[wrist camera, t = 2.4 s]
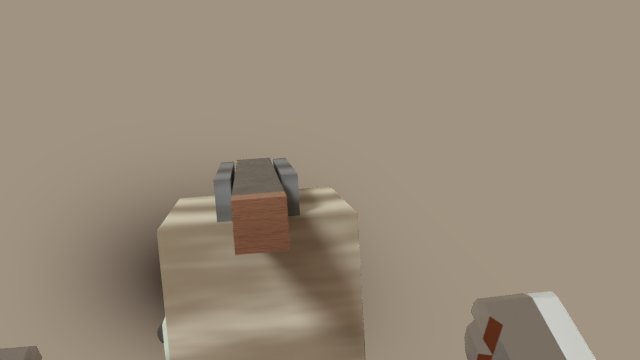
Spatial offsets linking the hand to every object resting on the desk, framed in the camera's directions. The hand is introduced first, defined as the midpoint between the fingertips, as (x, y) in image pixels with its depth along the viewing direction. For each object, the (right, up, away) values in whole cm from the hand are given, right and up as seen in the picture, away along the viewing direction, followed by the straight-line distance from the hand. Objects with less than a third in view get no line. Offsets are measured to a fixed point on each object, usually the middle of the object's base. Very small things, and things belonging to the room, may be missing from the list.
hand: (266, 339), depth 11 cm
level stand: (-2, -24, +33) cm, 41 cm away
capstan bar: (-3, +1, +25) cm, 25 cm away
